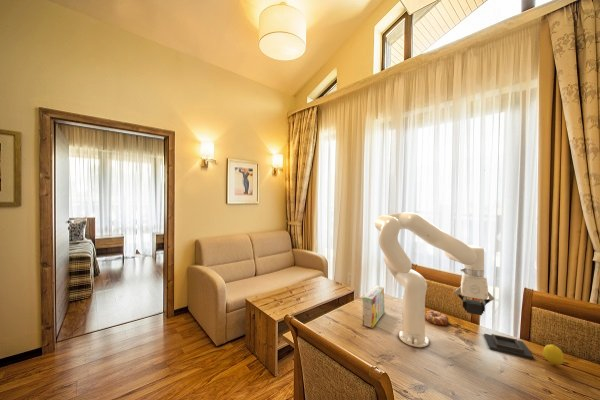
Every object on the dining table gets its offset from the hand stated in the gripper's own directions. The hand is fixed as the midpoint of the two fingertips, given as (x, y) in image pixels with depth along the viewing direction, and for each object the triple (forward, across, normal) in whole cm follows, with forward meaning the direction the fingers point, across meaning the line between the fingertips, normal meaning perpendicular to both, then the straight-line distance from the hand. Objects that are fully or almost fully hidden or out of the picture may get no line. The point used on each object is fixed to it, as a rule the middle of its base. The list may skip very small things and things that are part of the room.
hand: (473, 310), depth 110 cm
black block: (+1, 0, 0) cm, 1 cm away
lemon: (+13, +25, -6) cm, 29 cm away
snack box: (+14, -45, -2) cm, 47 cm away
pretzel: (+14, -15, +11) cm, 23 cm away
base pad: (+13, +12, 0) cm, 18 cm away
